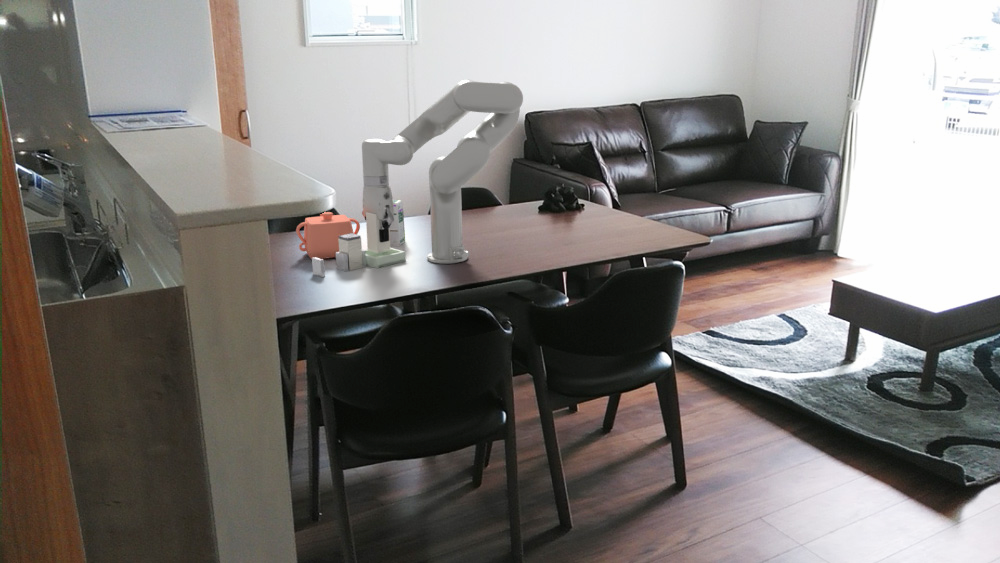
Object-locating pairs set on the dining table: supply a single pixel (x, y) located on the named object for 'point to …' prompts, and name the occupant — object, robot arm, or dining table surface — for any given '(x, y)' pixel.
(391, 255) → the tray
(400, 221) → the syrup box
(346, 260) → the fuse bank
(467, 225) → the dining table surface
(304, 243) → the teapot
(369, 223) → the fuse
